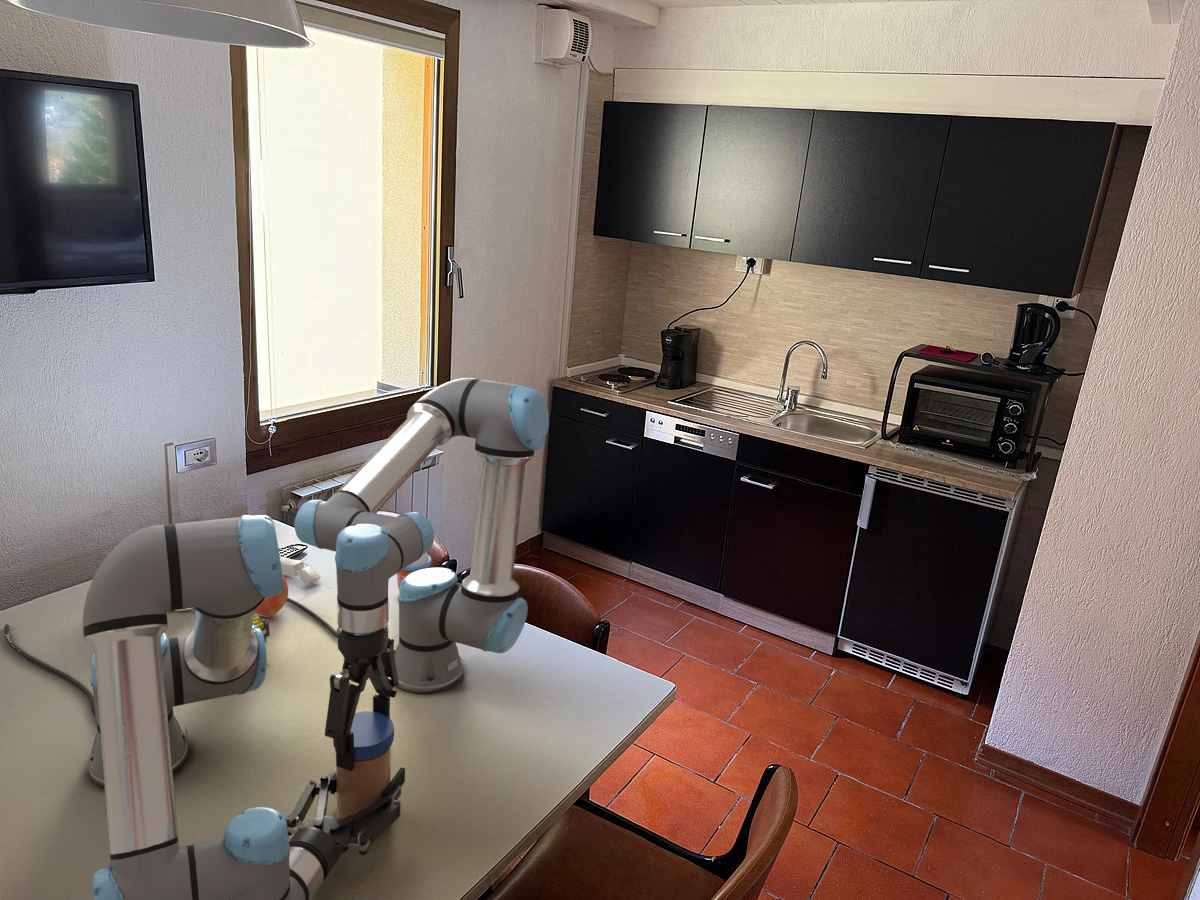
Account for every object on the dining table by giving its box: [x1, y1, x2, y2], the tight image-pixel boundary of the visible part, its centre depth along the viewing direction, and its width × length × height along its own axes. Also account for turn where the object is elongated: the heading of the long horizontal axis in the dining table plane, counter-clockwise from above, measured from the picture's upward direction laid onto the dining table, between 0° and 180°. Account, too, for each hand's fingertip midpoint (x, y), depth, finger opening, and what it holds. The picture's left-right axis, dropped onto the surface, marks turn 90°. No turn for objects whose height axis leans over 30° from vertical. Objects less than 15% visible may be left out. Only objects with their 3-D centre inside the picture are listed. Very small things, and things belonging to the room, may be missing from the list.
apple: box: [255, 575, 289, 618], centre depth 199 cm, size 10×10×10 cm
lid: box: [332, 710, 395, 759], centre depth 136 cm, size 9×9×2 cm
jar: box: [335, 745, 392, 836], centre depth 139 cm, size 9×9×16 cm
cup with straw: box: [396, 551, 433, 592], centre depth 211 cm, size 9×9×18 cm
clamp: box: [278, 546, 322, 587], centre depth 219 cm, size 20×4×7 cm, turn 62°
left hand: (377, 768), depth 144 cm, fingers closed on jar, 9 cm apart
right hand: (363, 748), depth 137 cm, fingers closed on lid, 9 cm apart
